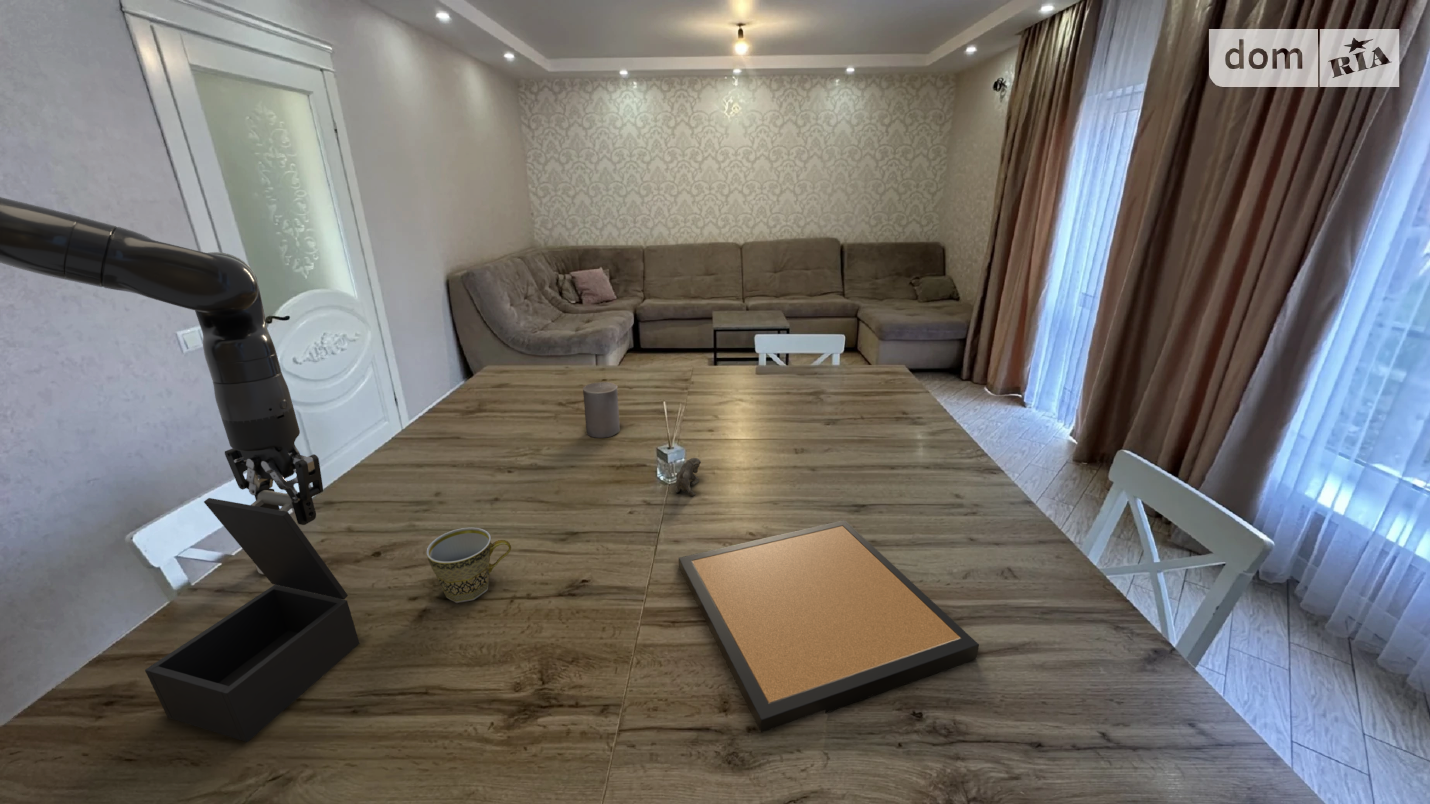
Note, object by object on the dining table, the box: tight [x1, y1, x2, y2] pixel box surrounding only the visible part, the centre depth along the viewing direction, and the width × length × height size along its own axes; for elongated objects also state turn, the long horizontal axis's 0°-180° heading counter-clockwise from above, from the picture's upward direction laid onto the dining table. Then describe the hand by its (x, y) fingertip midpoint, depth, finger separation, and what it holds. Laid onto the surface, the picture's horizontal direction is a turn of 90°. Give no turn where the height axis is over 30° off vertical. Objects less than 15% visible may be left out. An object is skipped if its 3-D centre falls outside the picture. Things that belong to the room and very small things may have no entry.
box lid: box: [203, 490, 349, 600], centre depth 79 cm, size 18×14×5 cm
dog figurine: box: [675, 457, 702, 497], centre depth 129 cm, size 12×6×7 cm, turn 168°
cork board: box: [678, 519, 980, 733], centre depth 91 cm, size 36×3×35 cm
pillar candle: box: [582, 381, 621, 439], centre depth 158 cm, size 10×10×15 cm
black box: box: [144, 584, 360, 743], centre depth 77 cm, size 17×14×9 cm
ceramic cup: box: [425, 527, 512, 604], centre depth 94 cm, size 13×10×10 cm
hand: (289, 518), depth 79 cm, fingers closed on box lid, 6 cm apart
